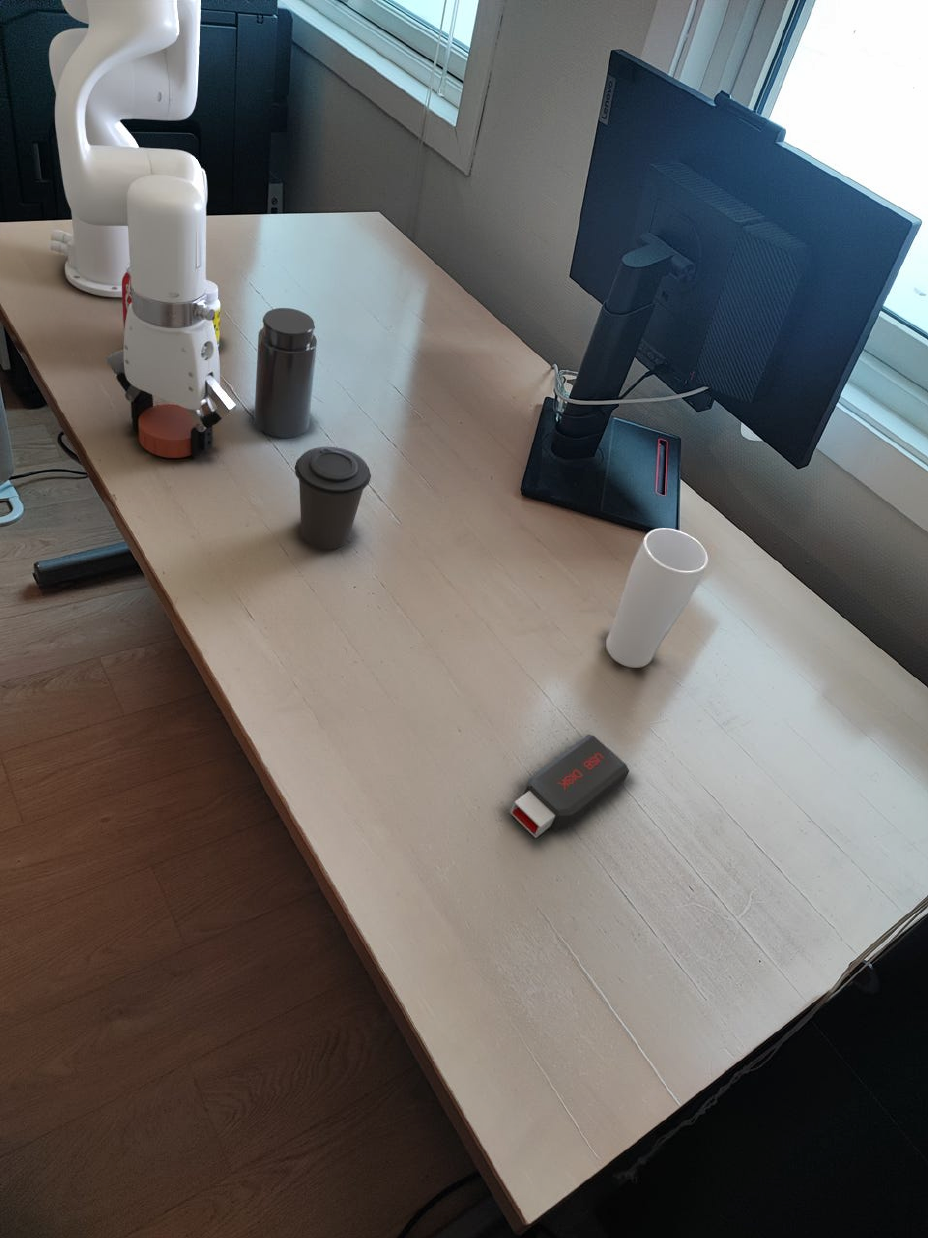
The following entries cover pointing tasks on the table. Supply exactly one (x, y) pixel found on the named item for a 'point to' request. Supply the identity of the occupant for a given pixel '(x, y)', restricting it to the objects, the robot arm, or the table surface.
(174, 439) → the lid
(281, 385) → the thermos
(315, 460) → the coffee cup
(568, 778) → the usb drive
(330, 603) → the table surface
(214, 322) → the supplement bottle
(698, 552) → the drinking glass
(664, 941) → the table surface
